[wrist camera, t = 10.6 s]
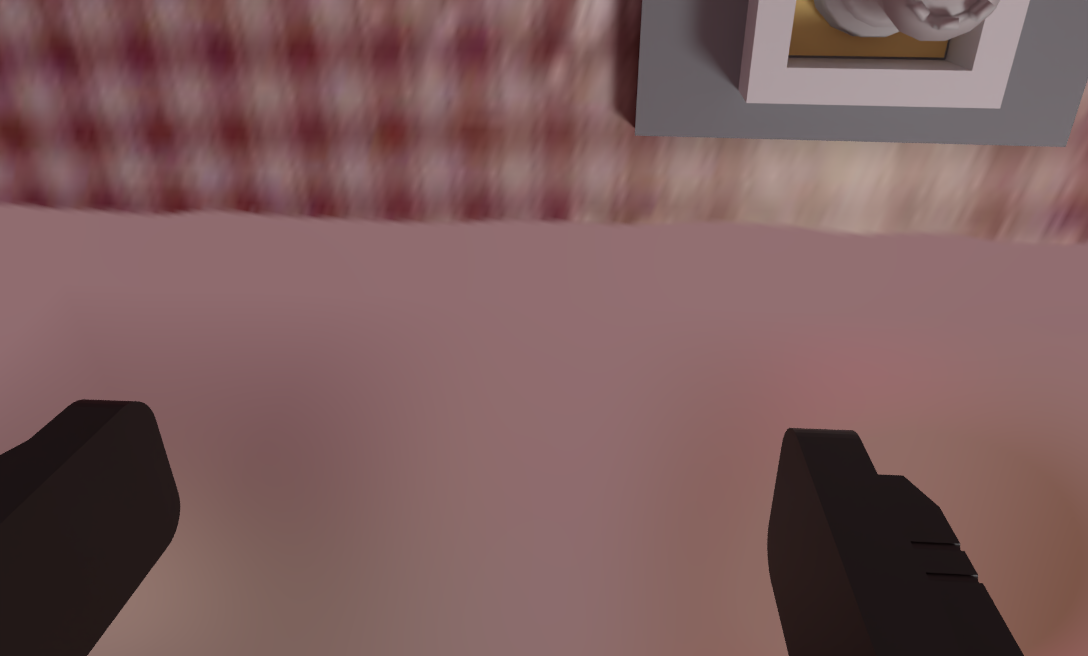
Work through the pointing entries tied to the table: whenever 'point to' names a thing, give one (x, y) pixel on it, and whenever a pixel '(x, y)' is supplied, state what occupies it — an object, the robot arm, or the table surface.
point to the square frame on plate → (859, 75)
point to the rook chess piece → (906, 17)
